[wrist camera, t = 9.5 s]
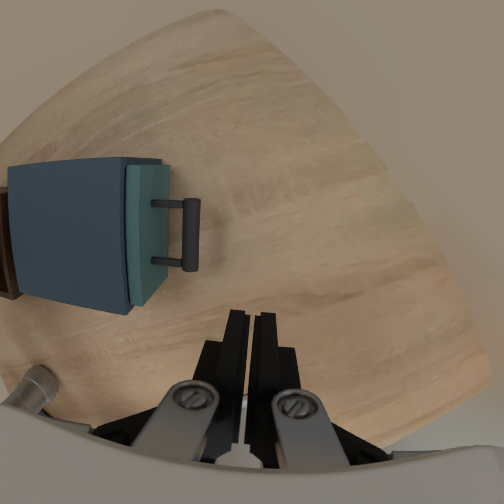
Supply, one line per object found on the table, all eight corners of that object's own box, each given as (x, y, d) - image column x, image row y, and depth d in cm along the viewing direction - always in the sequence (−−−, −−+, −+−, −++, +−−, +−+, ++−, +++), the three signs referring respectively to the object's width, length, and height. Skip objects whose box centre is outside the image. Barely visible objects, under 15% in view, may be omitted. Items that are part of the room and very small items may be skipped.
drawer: (212, 166, 26) (194, 165, 19) (207, 280, 30) (191, 313, 23) (69, 167, 27) (27, 171, 20) (73, 264, 30) (36, 286, 23)
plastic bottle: (29, 359, 37) (-34, 426, 17) (52, 362, 36) (-14, 440, 17) (44, 387, 38) (-10, 456, 19) (68, 392, 38) (13, 471, 19)
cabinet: (162, 159, 27) (120, 156, 18) (160, 277, 31) (126, 315, 22) (60, 163, 27) (7, 167, 19) (64, 264, 31) (19, 292, 22)
